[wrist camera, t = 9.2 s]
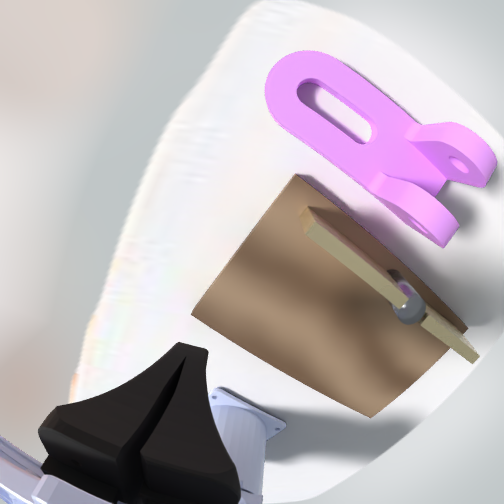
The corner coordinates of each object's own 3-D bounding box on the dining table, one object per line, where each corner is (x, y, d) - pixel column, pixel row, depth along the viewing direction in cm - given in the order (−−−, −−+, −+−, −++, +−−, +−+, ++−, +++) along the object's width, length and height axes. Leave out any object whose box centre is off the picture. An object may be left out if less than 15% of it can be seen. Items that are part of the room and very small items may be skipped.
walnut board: (368, 410, 25) (370, 418, 24) (194, 307, 22) (190, 314, 21) (463, 322, 21) (468, 328, 20) (295, 173, 19) (295, 174, 18)
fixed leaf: (389, 298, 20) (410, 329, 16) (294, 222, 19) (298, 242, 15) (406, 278, 19) (431, 307, 15) (312, 199, 18) (321, 213, 14)
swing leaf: (451, 335, 20) (472, 364, 16) (399, 295, 19) (420, 325, 16) (457, 328, 20) (480, 356, 16) (405, 286, 19) (428, 314, 15)
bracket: (447, 162, 17) (508, 172, 11) (405, 223, 19) (454, 256, 13) (297, 42, 16) (305, -7, 9) (248, 106, 18) (232, 82, 11)
